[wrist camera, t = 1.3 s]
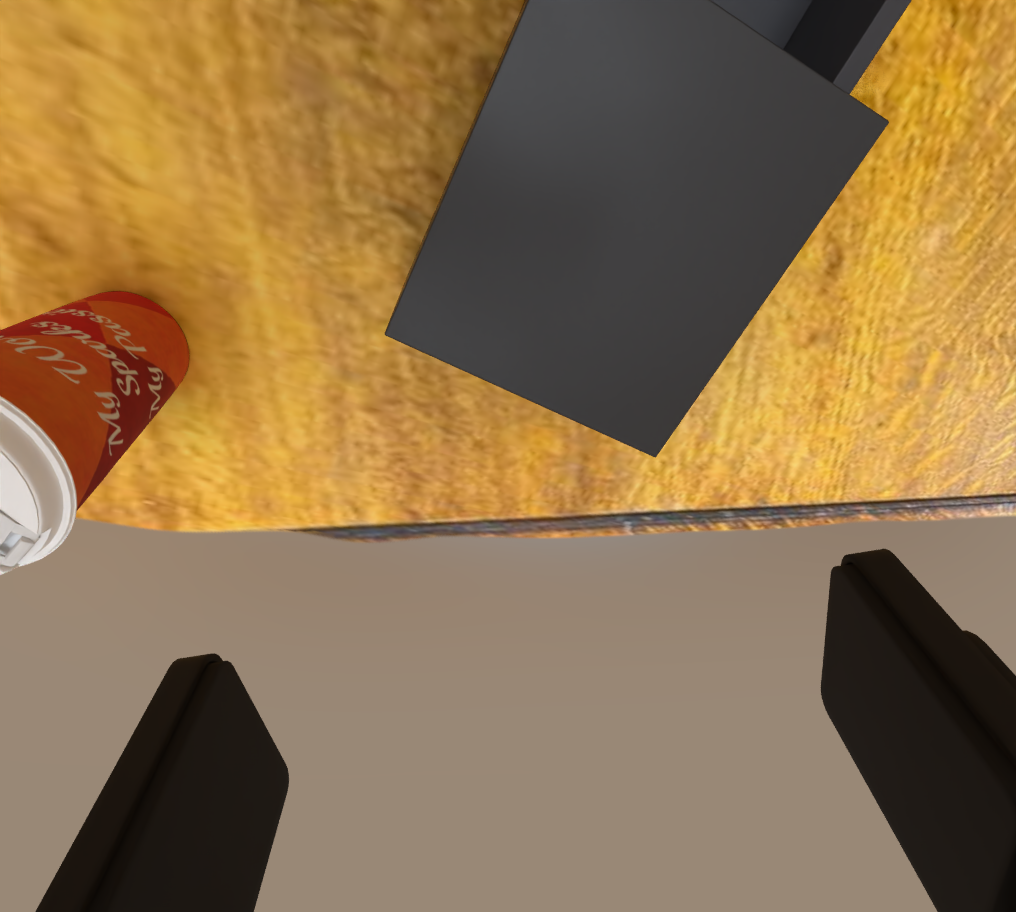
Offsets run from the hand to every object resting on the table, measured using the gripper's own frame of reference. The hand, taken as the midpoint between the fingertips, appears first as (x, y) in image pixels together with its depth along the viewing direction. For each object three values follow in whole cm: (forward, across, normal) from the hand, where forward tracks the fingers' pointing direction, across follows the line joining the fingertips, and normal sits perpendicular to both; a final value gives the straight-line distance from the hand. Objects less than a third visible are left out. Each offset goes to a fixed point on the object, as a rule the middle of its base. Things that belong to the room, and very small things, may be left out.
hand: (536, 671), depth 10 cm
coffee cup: (+27, +20, 0) cm, 34 cm away
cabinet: (+27, -5, -3) cm, 27 cm away
